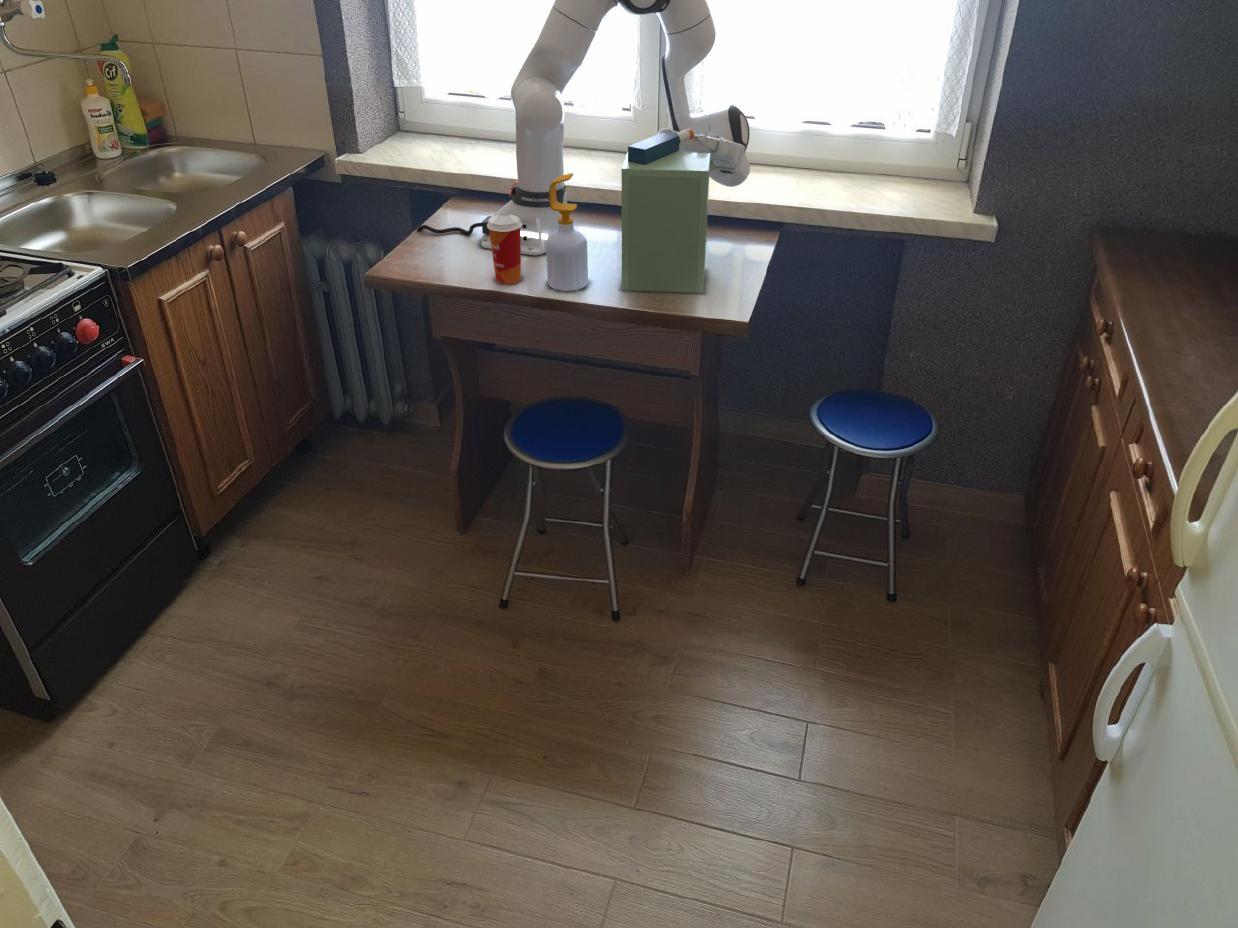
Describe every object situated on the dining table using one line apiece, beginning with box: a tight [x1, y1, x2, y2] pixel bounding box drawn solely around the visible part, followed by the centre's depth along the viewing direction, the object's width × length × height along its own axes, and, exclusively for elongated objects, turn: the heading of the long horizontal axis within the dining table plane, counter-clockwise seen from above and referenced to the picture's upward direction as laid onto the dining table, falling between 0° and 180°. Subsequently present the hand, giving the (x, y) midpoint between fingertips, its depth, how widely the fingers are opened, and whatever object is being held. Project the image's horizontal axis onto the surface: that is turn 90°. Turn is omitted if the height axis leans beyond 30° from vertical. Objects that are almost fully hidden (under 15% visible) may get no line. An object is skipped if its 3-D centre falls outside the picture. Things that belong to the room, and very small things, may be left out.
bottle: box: [627, 128, 694, 165], centre depth 206 cm, size 20×4×3 cm, turn 144°
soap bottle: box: [545, 172, 589, 292], centre depth 209 cm, size 9×9×25 cm
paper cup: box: [487, 215, 522, 285], centre depth 214 cm, size 8×8×14 cm
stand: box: [621, 151, 710, 294], centre depth 209 cm, size 13×18×27 cm
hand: (682, 135), depth 211 cm, fingers open, 8 cm apart
